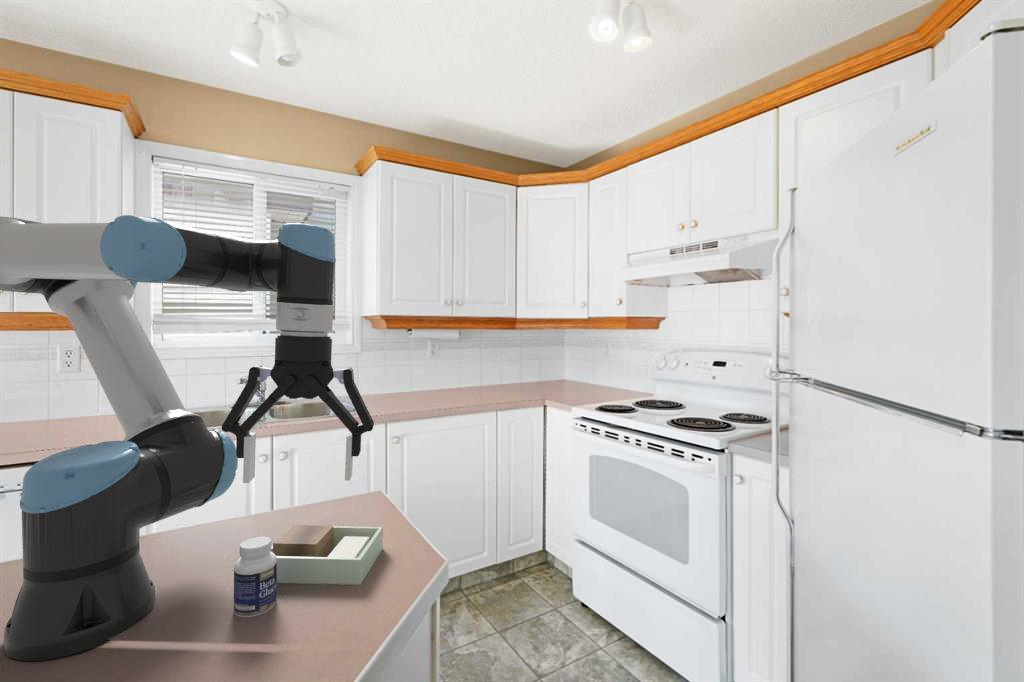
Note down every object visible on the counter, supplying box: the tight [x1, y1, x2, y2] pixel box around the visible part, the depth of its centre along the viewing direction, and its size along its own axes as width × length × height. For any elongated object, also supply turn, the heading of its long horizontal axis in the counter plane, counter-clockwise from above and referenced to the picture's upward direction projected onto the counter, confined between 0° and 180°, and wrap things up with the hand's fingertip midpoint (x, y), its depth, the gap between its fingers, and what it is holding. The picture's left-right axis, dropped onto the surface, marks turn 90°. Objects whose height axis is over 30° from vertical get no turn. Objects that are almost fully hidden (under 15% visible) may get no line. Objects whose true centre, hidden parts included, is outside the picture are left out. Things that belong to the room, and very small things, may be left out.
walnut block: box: [272, 524, 334, 557], centre depth 80 cm, size 7×7×5 cm
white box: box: [328, 536, 369, 558], centre depth 80 cm, size 4×8×3 cm, turn 179°
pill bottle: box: [233, 536, 278, 618], centre depth 68 cm, size 5×5×10 cm
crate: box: [271, 525, 384, 586], centre depth 80 cm, size 16×12×4 cm
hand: (299, 478), depth 70 cm, fingers open, 13 cm apart
